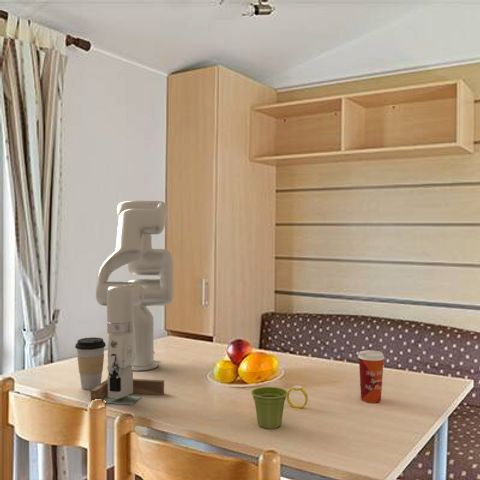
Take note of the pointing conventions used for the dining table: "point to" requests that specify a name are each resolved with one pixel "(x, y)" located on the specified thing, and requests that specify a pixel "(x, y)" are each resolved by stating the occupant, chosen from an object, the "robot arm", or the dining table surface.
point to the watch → (297, 388)
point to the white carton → (122, 383)
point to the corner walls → (138, 387)
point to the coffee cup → (90, 361)
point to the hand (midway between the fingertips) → (120, 386)
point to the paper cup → (371, 375)
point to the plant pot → (269, 406)
